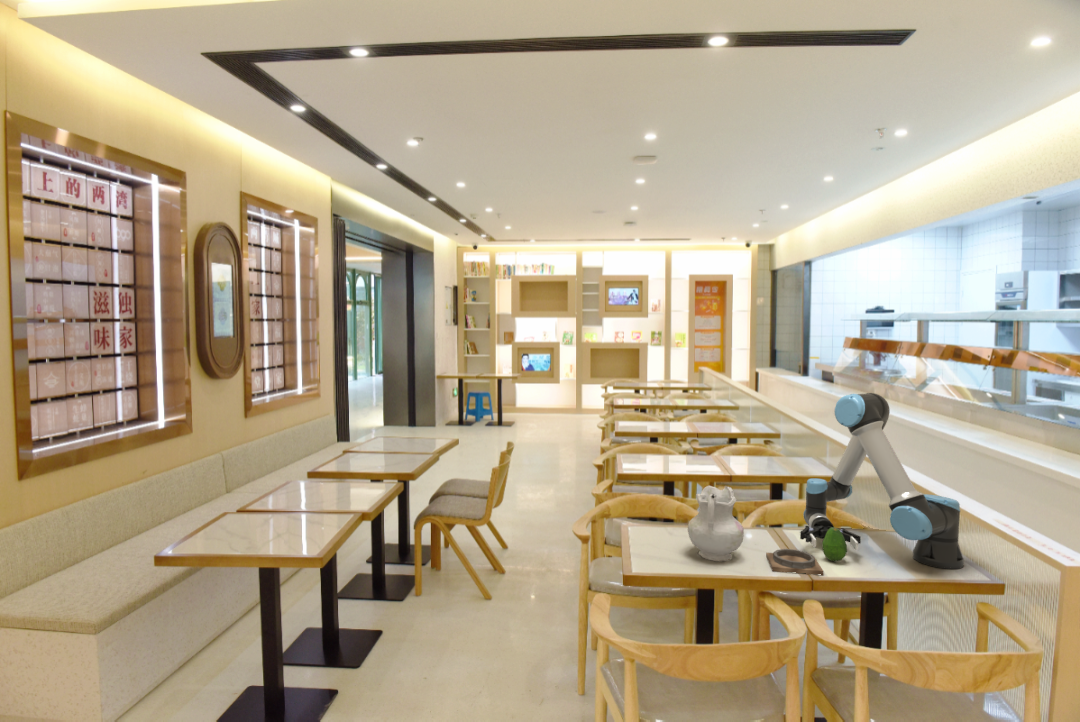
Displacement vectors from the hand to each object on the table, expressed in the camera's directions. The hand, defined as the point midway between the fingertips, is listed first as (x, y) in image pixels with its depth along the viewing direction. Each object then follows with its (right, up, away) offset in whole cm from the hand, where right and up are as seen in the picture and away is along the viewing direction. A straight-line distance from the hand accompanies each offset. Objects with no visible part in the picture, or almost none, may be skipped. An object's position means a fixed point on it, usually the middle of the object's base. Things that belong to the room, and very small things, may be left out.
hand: (835, 544), depth 216 cm
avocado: (+1, -7, +2) cm, 7 cm away
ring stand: (-16, -6, -2) cm, 17 cm away
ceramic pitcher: (-41, -6, +6) cm, 41 cm away
